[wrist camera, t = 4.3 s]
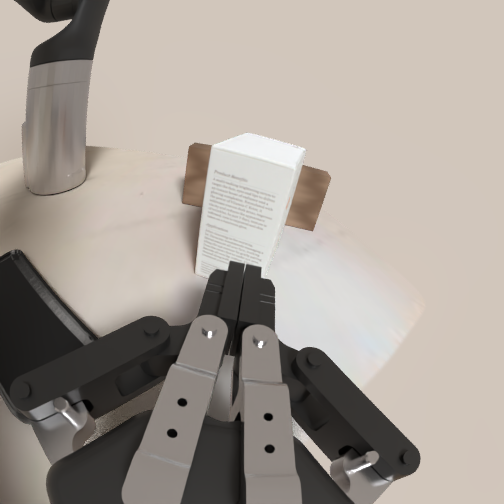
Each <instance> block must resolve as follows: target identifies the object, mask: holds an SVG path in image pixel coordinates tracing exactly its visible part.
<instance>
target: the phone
mask: <svg viewBox="0 0 504 504" xmlns="http://www.w3.org/2000/svg"><path fill="white" fill-rule="evenodd" d="M97 339H98V338H97V337H96V336H95V335H94V334H93V333H92V332H91V331H90V330H89V329H88V328H87V327H86V326H85V325H84V324H83V323H82V322H81V321H80V320H79V319H78V318H77V317H76V316H75V315H74V314H73V313H72V312H71V311H70V309H69V308H68V307H67V306H66V305H65V304H64V303H63V302H62V301H61V300H60V299H59V297H58V296H57V295H56V294H55V293H54V292H53V290H52V289H51V288H50V287H49V286H48V285H47V283H46V282H45V281H44V280H43V279H42V277H41V276H40V275H39V274H38V272H37V271H36V270H35V268H34V267H33V266H32V265H31V263H30V262H29V261H28V259H27V258H26V256H25V255H24V254H23V252H22V251H21V250H12V251H9V252H8V253H6V254H4V255H2V256H1V257H0V395H1V396H2V398H3V400H4V401H5V403H6V405H7V407H8V408H9V410H10V411H11V412H12V414H13V415H14V416H15V417H16V418H18V419H19V420H20V421H22V422H23V423H25V424H31V423H30V421H29V420H28V419H27V418H26V417H25V416H24V414H23V413H22V412H21V411H19V410H18V409H17V408H16V407H15V406H14V405H13V403H12V401H11V398H10V387H11V384H12V383H13V381H14V380H15V379H16V378H17V377H19V376H21V375H23V374H25V373H28V372H30V371H32V370H34V369H36V368H38V367H40V366H43V365H45V364H47V363H49V362H51V361H53V360H55V359H57V358H60V357H62V356H64V355H66V354H68V353H70V352H72V351H74V350H76V349H78V348H81V347H83V346H85V345H87V344H89V343H91V342H93V341H95V340H97Z"/></svg>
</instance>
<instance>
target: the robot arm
mask: <svg viewBox="0 0 504 504" xmlns="http://www.w3.org/2000/svg"><path fill="white" fill-rule="evenodd" d="M14 1H16V2H17V3H18V4H20V5H21V6H22V7H23V8H24V9H25V10H26V11H28V12H29V13H30V14H31V15H32V16H34V17H35V18H36V19H38V20H39V21H42V22H46V23H50V22H58V21H64V20H69V19H72V21H71V22H70V23H69V24H68V25H67V26H66V27H65V28H64V29H63V30H62V31H60V32H59V33H58V34H56V35H55V36H53V37H52V38H50V39H49V40H47V41H45V42H43V43H42V44H40V45H38V46H37V47H36V48H35V49H34V51H33V53H32V56H31V61H30V70H29V77H28V87H27V101H26V122H24V123H23V124H22V150H23V166H24V177H25V185H26V187H29V188H30V191H31V192H32V193H35V194H41V195H46V194H55V193H60V192H64V191H67V190H70V189H72V188H74V187H76V186H78V185H80V184H81V183H83V182H84V180H85V178H86V168H85V146H86V143H85V142H86V118H87V116H86V115H87V103H88V93H89V84H90V75H91V69H92V63H93V61H92V60H93V57H94V52H95V48H96V44H97V41H98V37H99V33H100V28H101V24H102V21H103V18H104V15H105V12H106V9H107V6H108V4H109V1H110V0H14ZM244 268H245V271H244ZM261 271H262V267H260V266H255V265H250V264H246V266H245V263H240V262H235V261H230V262H229V266H228V271H225V270H220V269H216V270H215V271H213V272H212V273H211V274H210V276H209V279H208V283H207V286H206V290H205V293H204V296H203V299H202V303H201V306H200V310H199V313H198V316H197V317H196V319H194V321H192V322H191V323H189V324H186V325H182V326H169V325H168V323H167V322H166V321H165V320H163V319H162V318H160V317H156V316H146V317H143V318H141V319H139V320H136V321H134V322H132V323H130V324H128V325H126V326H124V327H122V328H120V329H118V330H116V331H114V332H112V333H110V334H108V335H106V336H103V337H101V338H99V339H97V340H95V341H93V342H91V343H89V344H87V345H85V346H83V347H81V348H78V349H76V350H74V351H72V352H70V353H68V354H66V355H64V356H62V357H60V358H57V359H55V360H53V361H51V362H49V363H47V364H45V365H43V366H40V367H38V368H36V369H34V370H32V371H30V372H28V373H25V374H23V375H21V376H19V377H17V378H16V379H15V380H14V381H13V383H12V384H11V387H10V398H11V401H12V403H13V405H14V406H15V407H16V408H17V409H18V410H19V411H21V412H22V413H23V414H24V416H25V417H26V418H27V419H28V420H29V421H30V423H31V425H32V427H33V430H34V432H35V434H36V436H37V438H38V440H39V442H40V444H41V446H42V448H43V450H44V452H45V454H46V456H47V457H48V459H49V461H50V463H51V465H52V466H51V468H50V469H49V471H48V474H47V478H46V488H47V493H48V497H49V500H50V503H51V504H373V503H374V502H375V501H376V500H377V499H378V498H379V496H380V495H381V494H382V493H383V492H384V491H385V490H386V489H387V488H388V486H389V485H390V484H391V483H392V482H393V481H395V480H397V479H400V478H403V477H406V476H408V475H410V474H412V473H414V472H415V471H416V470H417V468H418V467H419V464H420V453H419V451H418V449H417V448H416V447H415V446H414V445H413V444H412V443H411V442H410V441H409V440H408V439H407V438H406V437H405V436H404V435H403V434H402V432H400V430H399V429H398V428H396V427H395V425H394V424H393V423H392V422H391V421H390V420H389V419H388V418H387V417H386V416H385V415H384V414H383V413H382V412H381V411H380V410H379V409H378V408H377V407H376V406H375V405H374V404H373V403H372V402H371V401H370V400H369V399H368V398H367V397H366V396H365V395H364V394H363V393H362V391H361V390H360V389H359V388H358V387H357V386H356V385H355V384H354V383H353V382H352V381H351V380H350V379H349V378H348V377H347V376H346V375H345V374H344V373H343V372H342V371H341V370H340V368H339V367H338V366H337V365H336V364H335V363H334V362H333V361H332V360H331V359H330V358H329V357H328V356H327V355H326V354H325V353H324V352H323V351H321V350H320V349H317V348H314V347H306V348H303V349H301V350H300V351H298V350H295V349H293V348H291V347H288V346H286V345H285V344H283V343H282V342H281V341H280V340H279V339H278V337H277V335H276V333H275V287H274V285H273V283H272V282H271V280H269V279H264V278H261ZM231 341H232V342H231ZM230 345H231V348H230ZM229 349H230V355H231V356H235V358H234V365H233V368H232V372H231V395H230V412H229V418H228V422H222V421H218V420H216V419H214V418H211V417H209V416H207V414H208V410H209V406H210V402H211V398H212V395H213V391H214V387H215V384H216V380H217V376H218V372H219V369H220V367H221V366H222V362H223V358H224V354H225V355H228V353H229ZM163 380H165V381H164V384H163V387H162V389H161V392H160V394H159V397H158V399H157V402H156V404H155V407H154V410H149V411H145V412H142V413H139V414H137V415H135V416H133V417H131V418H130V419H128V420H127V421H125V422H124V423H122V424H120V425H119V426H117V427H116V428H114V429H112V430H111V431H109V432H107V433H106V434H104V435H102V436H101V437H99V438H97V439H96V440H94V441H92V442H90V443H89V444H87V445H85V446H83V445H84V443H85V442H86V440H87V439H89V438H90V437H91V436H92V435H93V434H94V432H95V429H96V423H95V419H97V418H99V417H101V416H103V415H105V414H107V413H108V412H110V411H112V410H114V409H116V408H117V407H119V406H121V405H123V404H124V403H126V402H128V401H130V400H131V399H133V398H135V397H137V396H138V395H140V394H142V393H143V392H145V391H147V390H149V389H150V388H152V387H154V386H155V385H157V384H159V383H160V382H162V381H163ZM291 416H292V417H293V418H294V419H295V421H296V422H297V423H298V424H299V425H300V427H301V428H302V429H303V430H304V431H305V432H306V434H307V435H308V436H309V437H310V438H311V439H312V440H313V442H314V443H315V444H316V445H317V446H318V447H319V448H320V449H321V450H322V451H323V453H324V454H325V455H326V456H327V457H328V458H329V459H330V460H331V461H332V463H331V466H330V475H331V477H332V478H333V479H332V478H331V477H330V476H329V474H327V472H326V471H325V470H324V469H323V467H322V466H321V465H320V464H319V463H318V461H317V460H316V459H315V458H314V457H313V456H312V454H311V453H310V452H309V451H308V449H307V448H306V447H305V446H304V445H303V443H302V442H300V441H299V440H298V439H297V438H296V437H294V436H293V430H292V419H291Z"/></svg>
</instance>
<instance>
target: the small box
mask: <svg viewBox="0 0 504 504" xmlns="http://www.w3.org/2000/svg"><path fill="white" fill-rule="evenodd" d="M306 151H307V150H306V149H304V148H302V147H298V146H295V145H292V144H288V143H285V142H281V141H278V140H274V139H270V138H267V137H263V136H260V135H255V134H251V133H245V134H242V135H239V136H236V137H233V138H231V139H228V140H225V141H223V142H220V143H217V144H215V145H212V146H211V150H210V157H209V163H208V169H207V177H206V183H205V190H204V198H203V206H202V214H201V221H200V229H199V238H198V247H197V257H196V266H195V274H196V275H199V276H202V277H205V278H208V279H209V276H210V274H211V273H212V272H213V271H215V270H216V269H220V270H225V271H228V266H229V262H230V261H235V262H240V263H245V266H246V264H250V265H255V266H260V267H262V271H261V278H264V279H265V278H266V275H267V273H268V270H269V267H270V265H271V262H272V260H273V257H274V255H275V252H276V249H277V247H278V244H279V241H280V238H281V235H282V232H283V229H284V225H285V222H286V219H287V216H288V212H289V209H290V206H291V203H292V199H293V196H294V193H295V189H296V186H297V182H298V179H299V175H300V172H301V168H302V165H303V161H304V158H305V154H306ZM244 271H245V268H244Z"/></svg>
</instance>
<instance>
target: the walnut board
mask: <svg viewBox="0 0 504 504" xmlns="http://www.w3.org/2000/svg"><path fill="white" fill-rule="evenodd" d="M211 146H212V145H206V144H199V143H194V144H192V145H191V146H189V151H188V158H187V166H186V174H185V183H184V192H183V202H182V203H184V204H189V205H194V206H199V207H202V206H203V198H204V190H205V183H206V177H207V169H208V163H209V157H210V150H211ZM330 180H331V177H330V175H329V174H328V172H326V171H323V170H319V169H315V168H312V167H308V166H304V165H302V168H301V172H300V175H299V179H298V182H297V186H296V189H295V193H294V196H293V199H292V203H291V206H290V209H289V212H288V216H287V219H286V222H285V225H289V226H293V227H298V228H302V229H306V230H311V231H313V229H314V227H315V224H316V221H317V218H318V215H319V212H320V209H321V207H322V204H323V201H324V198H325V195H326V192H327V189H328V186H329V183H330Z"/></svg>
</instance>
